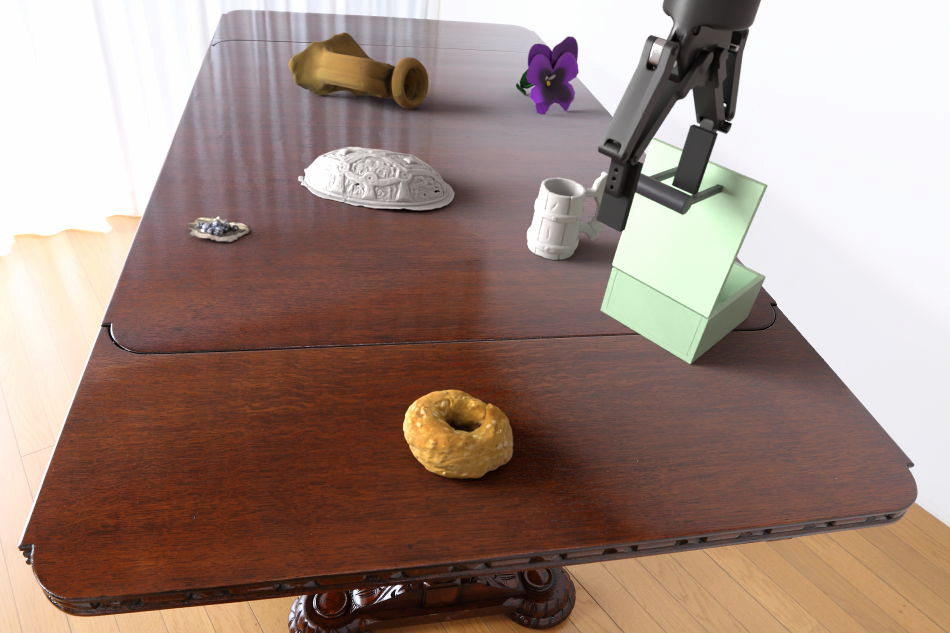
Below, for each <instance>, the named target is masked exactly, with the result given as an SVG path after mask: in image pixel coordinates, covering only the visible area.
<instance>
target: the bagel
mask: <svg viewBox="0 0 950 633" xmlns="http://www.w3.org/2000/svg"><path fill="white" fill-rule="evenodd" d="M404 416H405V417H404V421H403V424H402V426H403V427H402V431H403V433H404V439H405V440H406V442H407V444H408V445H409V449H410V451H411V453H412V455H413V456H414V458H415V459H416V460H417V461H418V462H419V463H420V464H421V465H423V467H424V468H425V469H426V470H428V472H430V473H433V474H436V475H438V476H441V477H444V478H449V479H459V480H460V479H462V480H463V479H479V478H482V477H483V476H484V475H486V473H489V472H490V471H495V470H497V469H498V468H499V467H501V466H503V465H506V464H507V463H508V462H509V461H510V460H511V458H512V457H513V453H514V449H513V447H514V436H513V429H512V427H511V425H510V420H509V417H508V416H507V415H506V413H505V412H504V411H502V410H501V409H500V407H497V406H496V405H493V404H492V403H488V404H487V403H485V402H483V401H482V400H481V399H479V398H475V397H473V396H472V395H470V394H469V393H467V392H465V391H463V390H459V389H446V390H445V389H443V390H435V391H432V392H430V393H428V394H425V395H422V396H421V397H420V398H417V399H416V400H414V401H413V403H412V404H410V405H409V407H408V408H407V411H406V412H405V415H404Z"/></svg>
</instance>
